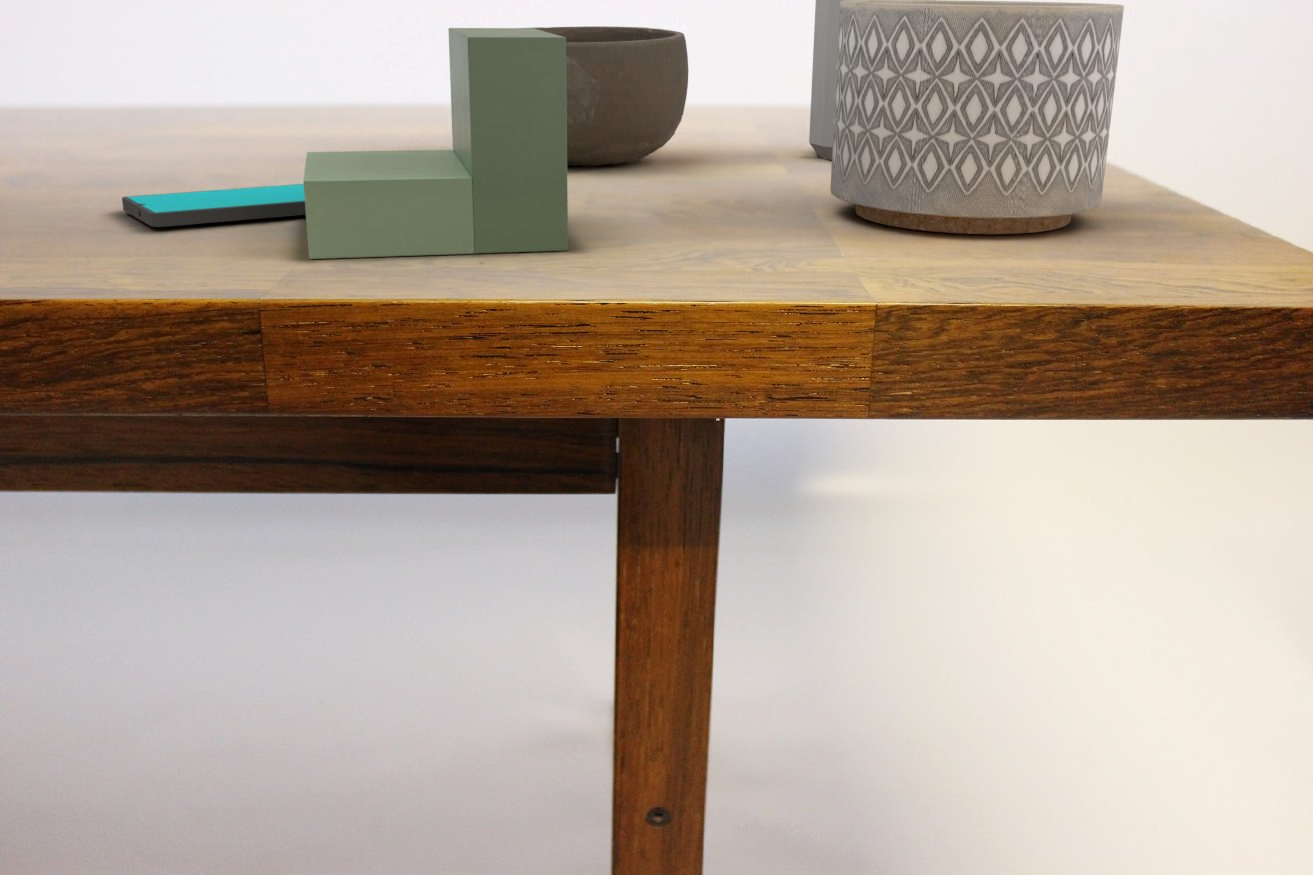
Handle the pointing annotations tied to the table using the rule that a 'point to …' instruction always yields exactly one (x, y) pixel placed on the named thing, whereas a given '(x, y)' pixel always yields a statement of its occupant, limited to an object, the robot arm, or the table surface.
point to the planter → (973, 112)
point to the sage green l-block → (459, 164)
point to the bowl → (622, 91)
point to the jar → (824, 76)
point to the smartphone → (217, 205)
